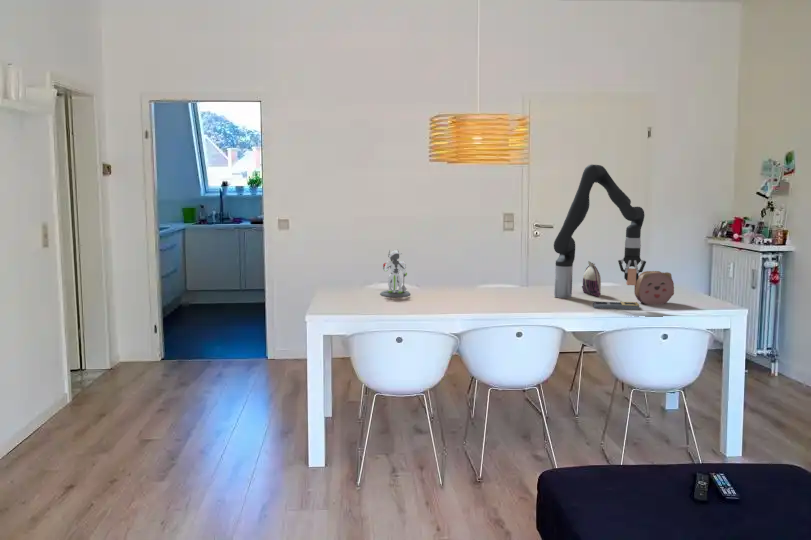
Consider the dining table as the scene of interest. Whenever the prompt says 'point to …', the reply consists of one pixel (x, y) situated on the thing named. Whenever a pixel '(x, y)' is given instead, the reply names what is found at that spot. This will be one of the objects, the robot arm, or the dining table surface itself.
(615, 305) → the rail
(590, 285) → the pouch
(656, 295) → the face sculpture
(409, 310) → the dining table surface
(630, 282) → the block
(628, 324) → the dining table surface
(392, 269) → the figurine
